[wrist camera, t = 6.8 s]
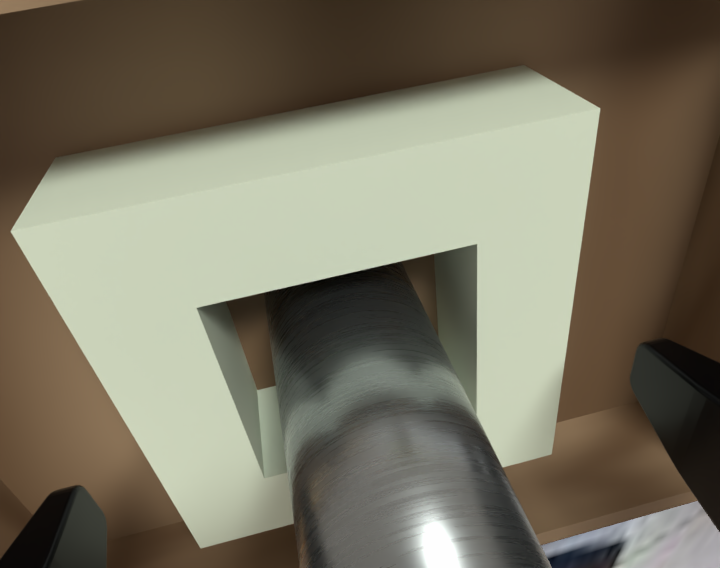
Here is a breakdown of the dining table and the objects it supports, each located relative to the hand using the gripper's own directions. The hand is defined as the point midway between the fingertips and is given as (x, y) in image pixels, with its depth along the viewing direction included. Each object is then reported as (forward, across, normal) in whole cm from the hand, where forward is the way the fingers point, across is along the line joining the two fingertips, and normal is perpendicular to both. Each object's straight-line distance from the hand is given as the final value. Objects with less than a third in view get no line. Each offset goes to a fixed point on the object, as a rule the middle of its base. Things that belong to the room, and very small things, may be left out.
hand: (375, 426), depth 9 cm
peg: (+4, 0, 0) cm, 4 cm away
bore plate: (+4, 0, 0) cm, 4 cm away
